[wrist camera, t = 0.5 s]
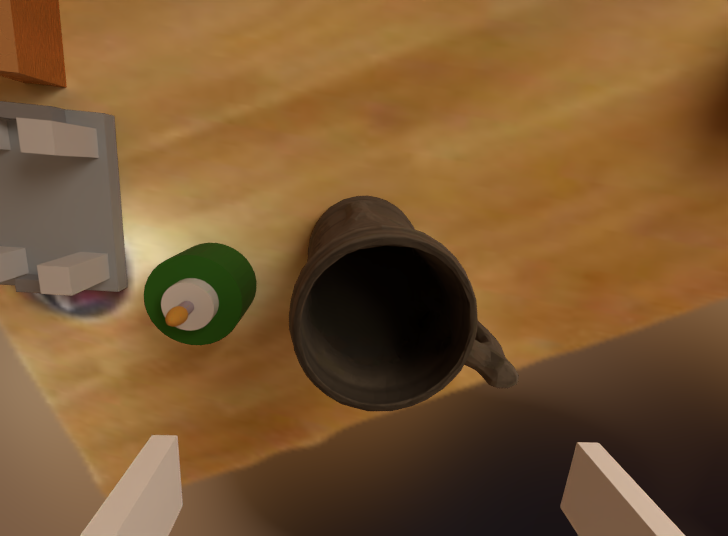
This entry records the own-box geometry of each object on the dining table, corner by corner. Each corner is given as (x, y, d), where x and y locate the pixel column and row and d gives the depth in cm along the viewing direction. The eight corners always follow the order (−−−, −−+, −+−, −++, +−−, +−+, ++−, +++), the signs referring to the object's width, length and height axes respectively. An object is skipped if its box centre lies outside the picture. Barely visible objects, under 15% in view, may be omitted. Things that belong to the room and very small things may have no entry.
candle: (260, 249, 36) (230, 277, 27) (252, 325, 38) (222, 377, 29) (174, 236, 36) (111, 260, 26) (171, 315, 38) (111, 365, 28)
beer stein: (289, 279, 37) (259, 404, 18) (321, 177, 35) (324, 196, 16) (425, 318, 40) (522, 459, 21) (463, 227, 38) (611, 293, 19)
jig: (-19, 102, 32) (-109, 85, 25) (114, 115, 32) (59, 102, 26) (9, 279, 36) (-62, 302, 29) (127, 287, 36) (82, 310, 30)
